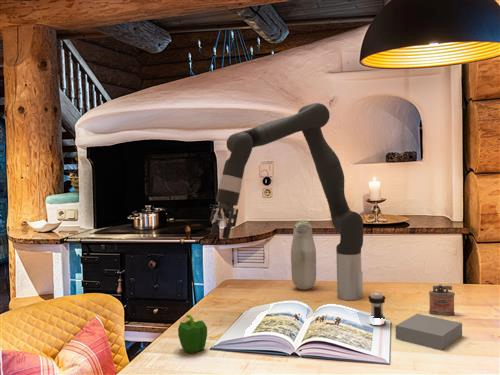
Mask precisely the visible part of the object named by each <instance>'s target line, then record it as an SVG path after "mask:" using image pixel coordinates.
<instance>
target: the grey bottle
mask: <svg viewBox="0 0 500 375" xmlns="http://www.w3.org/2000/svg"><path fill="white" fill-rule="evenodd" d="M290 267H291V268H290V269H291V270H290V271H291V280H292V283H293V285H294V286H295V287H296V288H297V289H299V290H303V291H304V290H310V289H311V288H312V287H314V286H315V284H316V281H317V250H316V244H315V240H314V234H313V228H312V225H311V223H310V222H309V221H306V220H301V221H300V220H299V221H297V222H296V223H295V224H294V226H293V234H292V241H291V248H290Z"/></svg>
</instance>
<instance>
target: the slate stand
mask: <svg viewBox="0 0 500 375" xmlns="http://www.w3.org/2000/svg"><path fill="white" fill-rule="evenodd" d="M462 337H463V323H462V322H461V321H460V322H458V321H454V320H450V319H444V318H441V317H436V316H435V317H434V316H430V315H425V314H422V313H416V314H414V315H412V316H410V317H408V318H407V319H404V320H403V321H401V322H400V323H397V324H395V339H396V340H399V341H404V342H407V343H411V344H416V345H420V346H424V347H428V348H432V349H436V350H440V351H443V350H445V349H446V348H448V347H450V345H453V343H454V342H456V341H457V340H459V339H461V338H462Z"/></svg>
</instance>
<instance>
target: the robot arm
mask: <svg viewBox="0 0 500 375" xmlns="http://www.w3.org/2000/svg"><path fill="white" fill-rule="evenodd" d="M329 120H330V110H329V108H328V107H327V106H326V105H325V104H323V103H319V102H318V103H317V102H315V103H310V104H308V105H303V106H302V107H300V108H299V110H298V112H297V113H295V114H293V115H290V116H287V117H286V116H285V117H283V118H279V119H278V118H277V119H275V120H271V121H268V122H265V123H262V124H260V125H257V126H255V127H253V128H251V129H246V130H241V131H239V132H235V133H233V134H231V135H229V136H228V138H227V140H226V148H227V150H228V151H229V152H230V155H229V158H227V159H226V160H225V162H224V165H223V170H222V174H221V177H220V180H219V184H218V188H217V194H216V198H215V201H216V202H217V203H218V204H213V206H212V209H211V214H210V217H209V221H210V222H211V225H212V226H211V229H210V235H211V236H215V237H216V236H217V235H218V232H219V227H220V223H221V222H223V224H224V227H223V230H222V235H221V238H222V239H225V240H229V239H230V234H231V229H232V228H235V227H236V225H237V218H238V215H239V208H236V207H235V206H238V205H239V200H240V196H241V195H240V194H241V190H242V185H243V179H244V178H243V177H244V173H245V168H246V165H247V163H248V161H249V159H250V156H251V154H252V151H253V148H257V147H263V146H266V145H268V144H272V143H274V142H276V141H278V140H281V139H283V138H286V137H289V136H291V135H294V134H295V133H299V132H301V133H302V135H303V137H304V139H305V141H306V143H307V146H308V149H309V152H310V155H311V158H312V160H313V163H314V166H315V171H316V173H317V177H318V179H319V182H320V183H321V187H322V190H323V193H324V196H325V198H326V201H327V204H328V209H329V213H330V218H331V221H332V226H333V228H334V230H336V232H338V233H340V234H339V236H340V238H339V244H337V245H336V248H335V249H336V250H335V251H336V254H335V255H336V295H337V298H338V299H340V300H344V301H358V300H361V299H362V298H363V294H364V291H363V288H364V287H363V271H362V247H363V244H364V220H363V218H362V216H361V214H359V213H358V212H356V211H354V210H351V208H350V207H349V205H348V202H347V199H346V193H345V175H344V170H343V167H342V165H341V160H340V159H339V157H338V154H336V152H335V151H334V150H333V149H332V147H331V146H330V145H329V143H328V142H327V141H326V139H325V136H324V135H323V131H322V129H321V128H323V127H325V126H326V125H327V124H328V122H329Z"/></svg>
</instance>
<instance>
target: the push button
mask: <svg viewBox="0 0 500 375" xmlns="http://www.w3.org/2000/svg"><path fill="white" fill-rule="evenodd" d="M367 298H368V302H369V303H370V304H371V305H370V306H371V308H370V310H371V314H370V316H374V317H373V318H380V319H381V318H383V319H386V320H387V321H386V320H385V322H384V325H383V326H385V325H386V323H389V318H388V317H387V318H386V317H385V316H384V312H383V311H384V310H383V304H385V301H386V295H383V293H382V292H371V293H370V295H368V297H367Z"/></svg>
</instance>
